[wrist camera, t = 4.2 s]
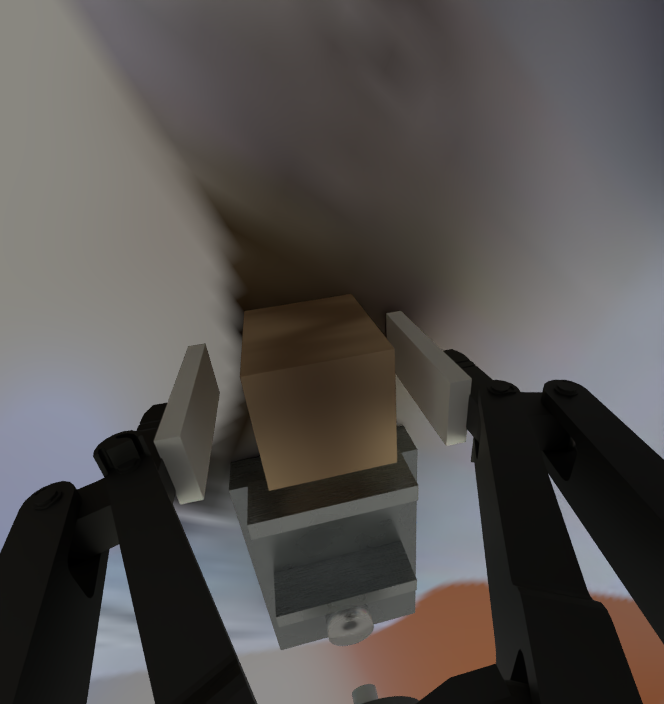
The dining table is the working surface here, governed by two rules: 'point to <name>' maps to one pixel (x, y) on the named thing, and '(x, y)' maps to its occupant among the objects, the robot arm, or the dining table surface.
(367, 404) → the block
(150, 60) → the dining table surface
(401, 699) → the wheel
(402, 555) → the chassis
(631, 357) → the dining table surface
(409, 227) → the dining table surface
